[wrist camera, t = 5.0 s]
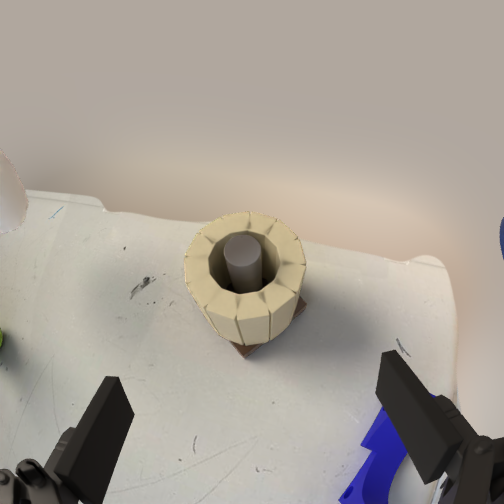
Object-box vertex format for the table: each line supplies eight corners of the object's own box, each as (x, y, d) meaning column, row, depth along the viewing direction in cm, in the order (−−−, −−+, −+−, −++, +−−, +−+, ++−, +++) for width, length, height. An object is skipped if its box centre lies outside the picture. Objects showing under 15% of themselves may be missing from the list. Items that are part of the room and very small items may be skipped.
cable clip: (389, 392, 25) (416, 386, 19) (422, 409, 23) (453, 405, 18) (325, 494, 20) (339, 513, 15) (362, 509, 18) (383, 527, 13)
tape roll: (314, 304, 28) (329, 266, 21) (242, 363, 26) (232, 345, 19) (256, 244, 32) (252, 195, 25) (187, 293, 30) (163, 254, 23)
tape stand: (305, 309, 30) (323, 255, 20) (244, 359, 27) (231, 328, 18) (255, 257, 33) (251, 189, 24) (196, 300, 31) (166, 245, 21)
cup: (36, 289, 32) (-67, 194, 14) (41, 245, 36) (-41, 146, 18) (76, 278, 33) (-29, 165, 15) (79, 232, 36) (-1, 118, 18)
